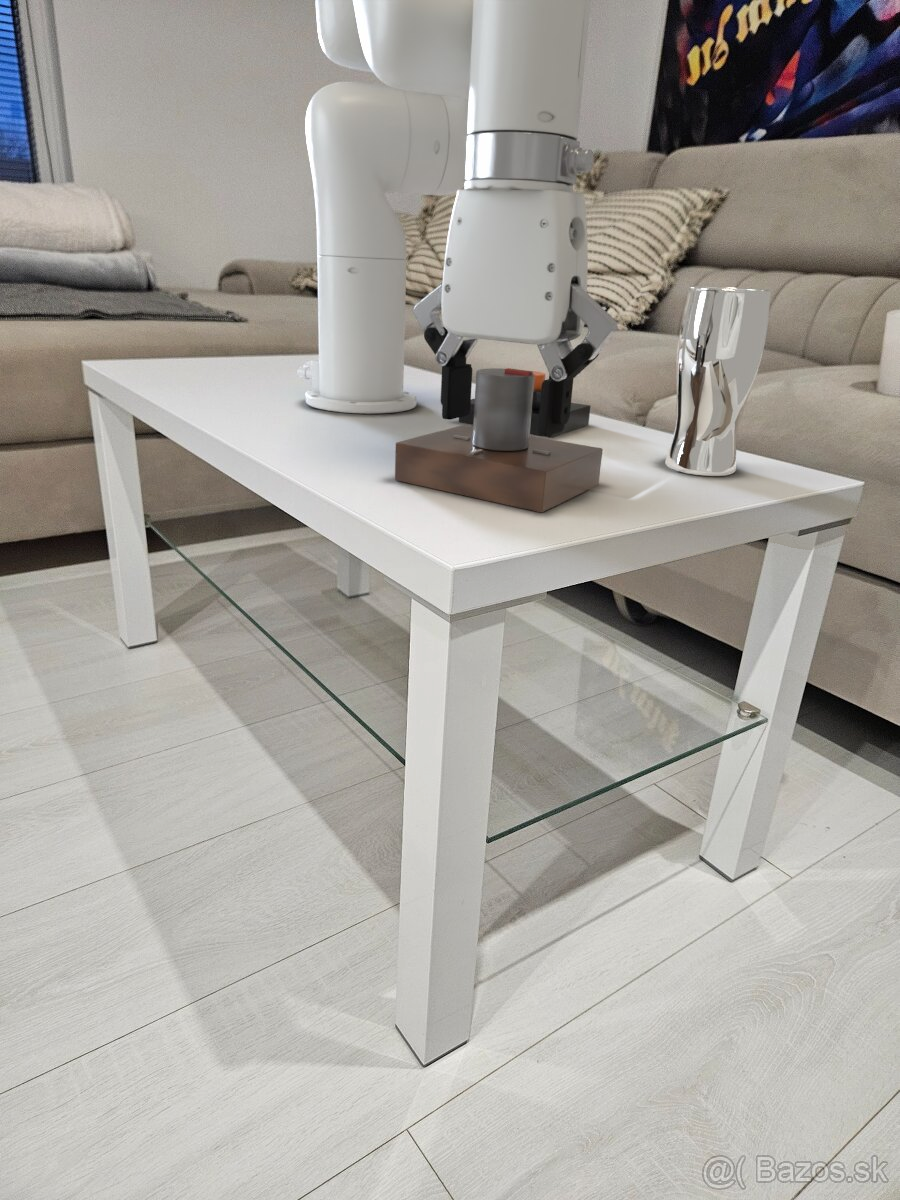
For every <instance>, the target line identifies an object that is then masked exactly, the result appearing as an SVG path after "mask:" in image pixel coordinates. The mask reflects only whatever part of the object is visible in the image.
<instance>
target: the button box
mask: <svg viewBox="0 0 900 1200" xmlns="http://www.w3.org/2000/svg"><path fill="white" fill-rule="evenodd" d="M540 398H541V389H540V390H533V401H532V413H531V425H530V436H536V437H537V436H538V437H542V438H548V439H553V438H556V437H558V436H562V435H564V434H567V433H570V432H573V431H576V430H579V429H583V428H584V427H587V426H589V425H590V424H589V422H590V414H591V404H590V405H589V404H582V403H577V402H576V403H575V402H571V408H570V417H569V420H568V422H567V423H566V424H565V426H564V430H563V431H562V432H559V433H556V434H553V435H550V436H542V435H540V433H538V421H539V410H540ZM474 405H475V398H471V405H470V413H469V414H468V415H467V416H463V417H459V418H458V423H461V424H462V423H463V424H466V425H473V423H474Z"/></svg>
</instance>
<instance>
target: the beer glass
mask: <svg viewBox="0 0 900 1200" xmlns="http://www.w3.org/2000/svg"><path fill="white" fill-rule="evenodd" d="M772 293H773V292H772V290H770V289H762V288H761V289H760V288H750V287H749V288H748V287H732V286H715V285H714V286H713V285H689V286H688V290H687V294H686V300H685V304H684V307H683V312H682V318H681V322H680V327H679V331H678V338H677V339H678V340H677V347H676V359H675V360H676V361H675V362H676V363H675V364H676V365H675V387H676V388H675V389H676V415H675V416H676V418H675V427H674V432H673V435H672V439H671V442H670V446H669V448H668V451H667V454H666V457H665V461H664V463H665V466H666V467H667V468H668V469H671V470H674V471H677V472H680V473H684V474H688V475H695V476H701V477H702V476H703V477H725V476H730V475H733V474H734V473H735V472H736V471H737V442H738V441H737V440H738V432H739V428H740V424H741V420H742V417H743V414H744V411H745V408H746V406H747V403H748V400H749V398H750V395H751V393H752V389H753V387H754V383H755V381H756V378H757V376H758V372H759V369H760V366H761V363H762V358H763V355H764V349H765V344H766V338H767V333H768V332H767V331H768V325H769V315H770V305H771V297H772Z"/></svg>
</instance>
